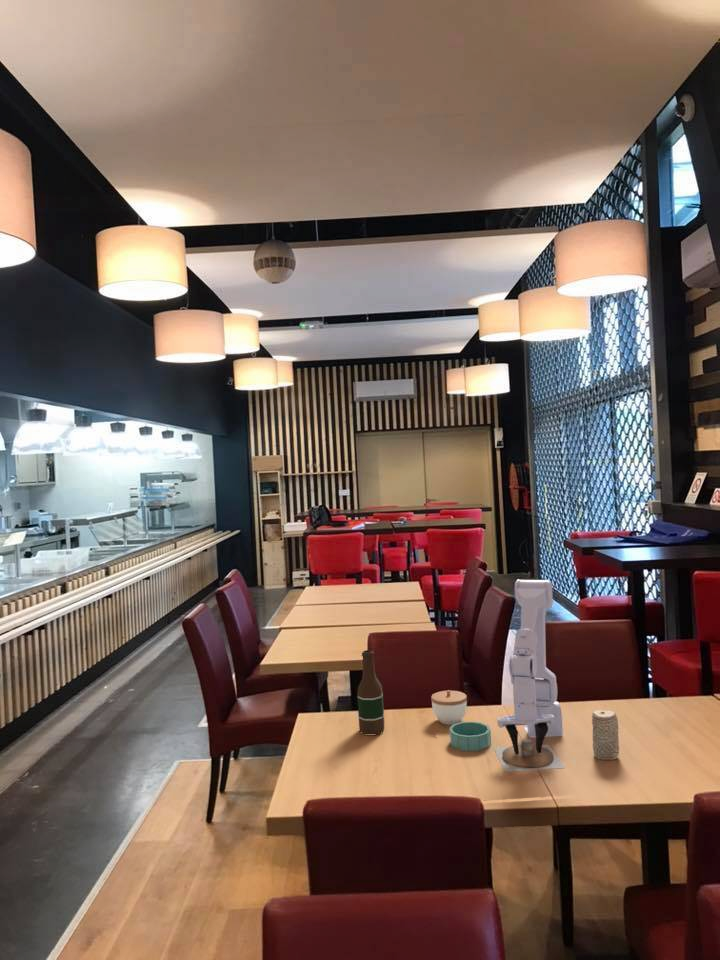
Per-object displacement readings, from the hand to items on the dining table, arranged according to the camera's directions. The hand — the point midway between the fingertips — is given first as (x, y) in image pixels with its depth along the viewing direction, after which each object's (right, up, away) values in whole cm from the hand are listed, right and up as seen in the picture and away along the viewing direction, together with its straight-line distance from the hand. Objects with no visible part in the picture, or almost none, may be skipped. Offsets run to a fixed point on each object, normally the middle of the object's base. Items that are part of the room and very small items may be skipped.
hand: (527, 752), depth 186 cm
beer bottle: (-40, -4, +26) cm, 48 cm away
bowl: (-13, -3, +12) cm, 18 cm away
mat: (0, -2, 0) cm, 2 cm away
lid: (0, -1, 0) cm, 1 cm away
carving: (+20, -1, -2) cm, 20 cm away
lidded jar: (-16, -3, +31) cm, 35 cm away
